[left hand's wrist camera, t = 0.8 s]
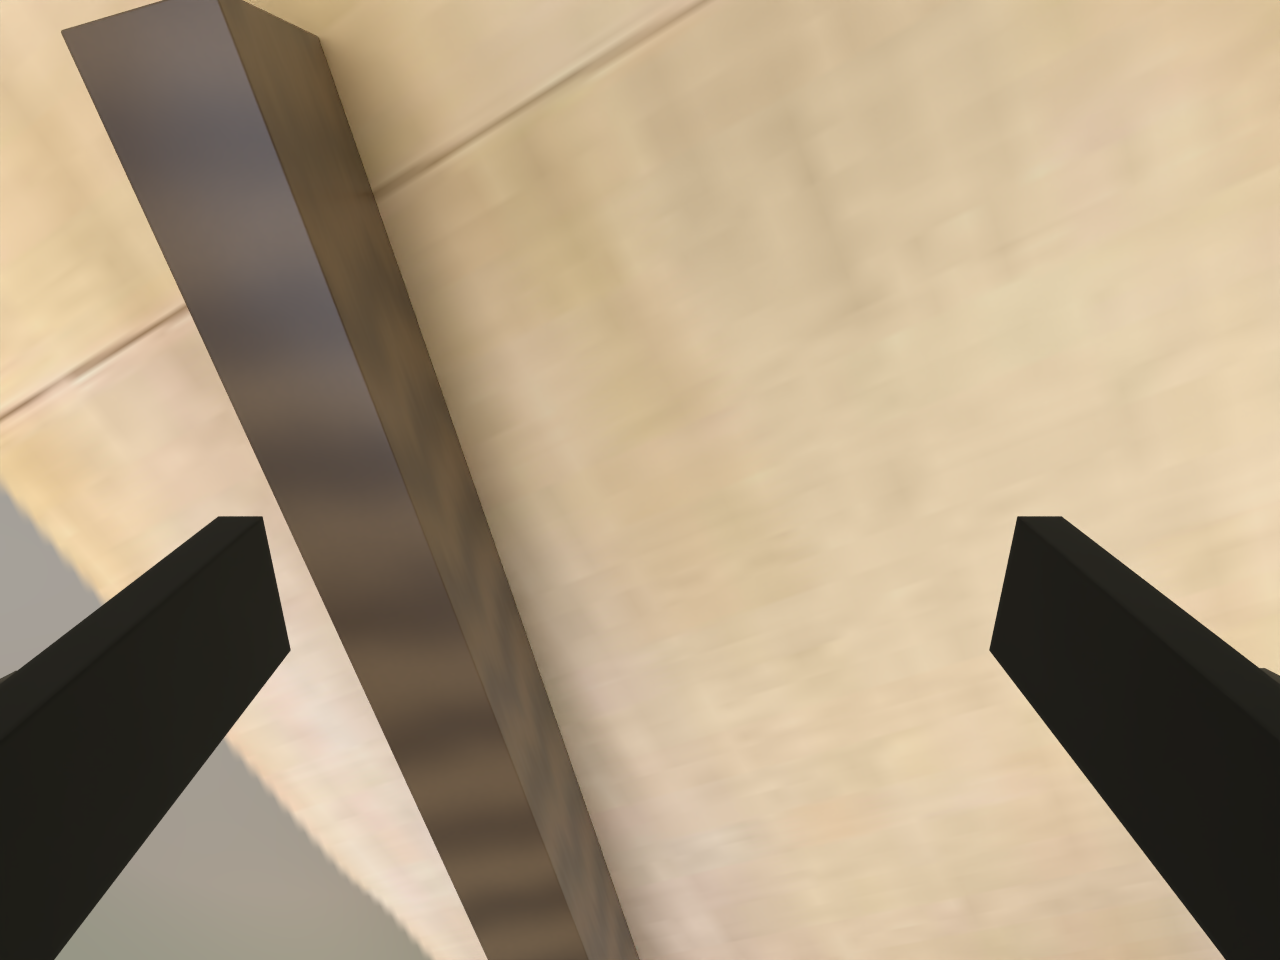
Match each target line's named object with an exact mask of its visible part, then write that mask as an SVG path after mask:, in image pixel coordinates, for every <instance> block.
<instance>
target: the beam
mask: <svg viewBox="0 0 1280 960" xmlns="http://www.w3.org/2000/svg"><path fill="white" fill-rule="evenodd" d="M61 33H62V35H63V38H64V40H65V42H66V44H67V46H68V49H69V51H70V53H71V55H72V57H73V59H74V62H75V64H76V66H77V68H78V70H79V72H80V75H81V77H82V79H83V81H84V83H85V85H86V88H87V90H88V92H89V94H90V96H91V98H92V101H93V103H94V105H95V107H96V109H97V112H98V114H99V116H100V118H101V120H102V122H103V125H104V127H105V129H106V131H107V133H108V135H109V138H110V140H111V142H112V144H113V146H114V148H115V151H116V153H117V155H118V157H119V159H120V161H121V164H122V166H123V168H124V170H125V172H126V175H127V177H128V179H129V181H130V183H131V185H132V188H133V190H134V192H135V194H136V196H137V198H138V201H139V203H140V205H141V207H142V209H143V211H144V214H145V216H146V218H147V220H148V222H149V224H150V227H151V229H152V231H153V233H154V235H155V237H156V240H157V242H158V244H159V246H160V248H161V251H162V253H163V255H164V257H165V259H166V261H167V264H168V266H169V268H170V270H171V272H172V274H173V277H174V279H175V281H176V283H177V285H178V287H179V290H180V292H181V294H182V296H183V298H184V300H185V303H186V305H187V307H188V309H189V311H190V314H191V316H192V318H193V320H194V322H195V324H196V327H197V329H198V331H199V333H200V335H201V337H202V340H203V342H204V344H205V346H206V348H207V350H208V353H209V355H210V357H211V359H212V361H213V363H214V366H215V368H216V370H217V372H218V374H219V377H220V379H221V381H222V383H223V385H224V387H225V390H226V392H227V394H228V396H229V398H230V400H231V403H232V405H233V407H234V409H235V411H236V413H237V416H238V418H239V420H240V422H241V424H242V426H243V429H244V431H245V433H246V435H247V437H248V439H249V442H250V444H251V446H252V448H253V450H254V453H255V455H256V457H257V459H258V461H259V463H260V466H261V468H262V470H263V472H264V474H265V476H266V479H267V481H268V483H269V485H270V487H271V489H272V492H273V494H274V496H275V498H276V500H277V502H278V505H279V507H280V509H281V511H282V513H283V516H284V518H285V520H286V522H287V524H288V526H289V529H290V531H291V533H292V535H293V537H294V539H295V542H296V544H297V546H298V548H299V550H300V552H301V555H302V557H303V559H304V561H305V563H306V565H307V568H308V570H309V572H310V574H311V576H312V578H313V581H314V583H315V585H316V587H317V589H318V592H319V594H320V596H321V598H322V600H323V602H324V605H325V607H326V609H327V611H328V613H329V615H330V618H331V620H332V622H333V624H334V626H335V628H336V631H337V633H338V635H339V637H340V639H341V641H342V644H343V646H344V648H345V650H346V652H347V655H348V657H349V659H350V661H351V663H352V665H353V668H354V670H355V672H356V674H357V676H358V678H359V681H360V683H361V685H362V687H363V689H364V691H365V694H366V696H367V698H368V700H369V702H370V704H371V707H372V709H373V711H374V713H375V715H376V718H377V720H378V722H379V724H380V726H381V728H382V731H383V733H384V735H385V737H386V739H387V741H388V744H389V746H390V748H391V750H392V752H393V754H394V757H395V759H396V761H397V763H398V765H399V767H400V770H401V772H402V774H403V776H404V778H405V780H406V783H407V785H408V787H409V789H410V791H411V794H412V796H413V798H414V800H415V802H416V804H417V807H418V809H419V811H420V813H421V815H422V817H423V820H424V822H425V824H426V826H427V828H428V830H429V833H430V835H431V837H432V839H433V841H434V843H435V846H436V848H437V850H438V852H439V854H440V857H441V859H442V861H443V863H444V865H445V867H446V870H447V872H448V874H449V876H450V878H451V880H452V883H453V885H454V887H455V889H456V891H457V893H458V896H459V898H460V900H461V902H462V904H463V906H464V909H465V911H466V913H467V915H468V917H469V920H470V922H471V924H472V926H473V928H474V930H475V933H476V935H477V937H478V939H479V941H480V943H481V946H482V948H483V950H484V952H485V954H486V956H487V959H488V960H639V958H638V955H637V952H636V949H635V946H634V944H633V941H632V938H631V935H630V932H629V929H628V926H627V923H626V921H625V918H624V915H623V912H622V909H621V906H620V903H619V900H618V898H617V895H616V892H615V889H614V886H613V883H612V880H611V877H610V875H609V872H608V869H607V866H606V863H605V860H604V857H603V854H602V852H601V849H600V846H599V843H598V840H597V837H596V834H595V831H594V829H593V826H592V823H591V820H590V817H589V814H588V811H587V808H586V806H585V803H584V800H583V797H582V794H581V791H580V788H579V786H578V783H577V780H576V777H575V774H574V771H573V768H572V765H571V763H570V760H569V757H568V754H567V751H566V748H565V745H564V742H563V740H562V737H561V734H560V731H559V728H558V725H557V722H556V719H555V717H554V714H553V711H552V708H551V705H550V702H549V699H548V696H547V694H546V691H545V688H544V685H543V682H542V679H541V676H540V673H539V671H538V668H537V665H536V662H535V659H534V656H533V653H532V650H531V648H530V645H529V642H528V639H527V636H526V633H525V630H524V627H523V625H522V622H521V619H520V616H519V613H518V610H517V607H516V604H515V602H514V599H513V596H512V593H511V590H510V587H509V584H508V581H507V579H506V576H505V573H504V570H503V567H502V564H501V561H500V558H499V556H498V553H497V550H496V547H495V544H494V541H493V538H492V535H491V533H490V530H489V527H488V524H487V521H486V518H485V515H484V513H483V510H482V507H481V504H480V501H479V498H478V495H477V492H476V490H475V487H474V484H473V481H472V478H471V475H470V472H469V469H468V467H467V464H466V461H465V458H464V455H463V452H462V449H461V446H460V444H459V441H458V438H457V435H456V432H455V429H454V426H453V423H452V421H451V418H450V415H449V412H448V409H447V406H446V403H445V400H444V398H443V395H442V392H441V389H440V386H439V383H438V380H437V377H436V375H435V372H434V369H433V366H432V363H431V360H430V357H429V354H428V352H427V349H426V346H425V343H424V340H423V337H422V334H421V331H420V329H419V326H418V323H417V320H416V317H415V314H414V311H413V308H412V306H411V303H410V300H409V297H408V294H407V291H406V288H405V285H404V283H403V280H402V277H401V274H400V271H399V268H398V265H397V262H396V260H395V257H394V254H393V251H392V248H391V245H390V242H389V240H388V237H387V234H386V231H385V228H384V225H383V222H382V219H381V217H380V214H379V211H378V208H377V205H376V202H375V199H374V196H373V194H372V191H371V188H370V185H369V182H368V179H367V176H366V173H365V171H364V168H363V165H362V162H361V159H360V156H359V153H358V150H357V148H356V145H355V142H354V139H353V136H352V133H351V130H350V127H349V125H348V122H347V119H346V116H345V113H344V110H343V107H342V104H341V102H340V99H339V96H338V93H337V90H336V87H335V84H334V81H333V79H332V76H331V73H330V70H329V67H328V64H327V61H326V58H325V56H324V53H323V50H322V47H321V44H320V41H319V38H318V37H317V36H316V35H313V34H311V33H309V32H307V31H305V30H303V29H301V28H299V27H297V26H295V25H293V24H291V23H289V22H287V21H284V20H282V19H280V18H278V17H276V16H274V15H272V14H270V13H268V12H266V11H264V10H262V9H260V8H258V7H255V6H253V5H251V4H249V3H247V2H245V1H243V0H162V1H159V2H156V3H152V4H149V5H145V6H142V7H139V8H135V9H132V10H129V11H125V12H122V13H118V14H115V15H112V16H108V17H105V18H102V19H98V20H95V21H91V22H88V23H85V24H81V25H78V26H75V27H71V28H68V29H65V30H62V31H61Z"/></svg>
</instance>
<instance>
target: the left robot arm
mask: <svg viewBox="0 0 1280 960" xmlns="http://www.w3.org/2000/svg"><path fill="white" fill-rule="evenodd" d="M290 650H291V649H290V645H289V640H288V635H287V630H286V626H285V621H284V616H283V611H282V607H281V602H280V597H279V592H278V588H277V583H276V578H275V574H274V569H273V564H272V559H271V555H270V550H269V545H268V540H267V536H266V531H265V526H264V521H263V517H262V516H218V517H217V518H216V519H215V520H213V521H212V522H211V523H209V524H208V525H207V526H205V527H204V528H203V529H201V530H200V531H199V532H198V533H196V534H195V535H194V536H192V537H191V538H190V539H188V540H187V541H186V542H185V543H183V544H182V545H181V546H179V547H178V548H177V549H175V550H174V551H173V552H172V553H170V554H169V555H168V556H166V557H165V558H164V559H162V560H161V561H160V562H158V563H157V564H156V565H155V566H153V567H152V568H151V569H149V570H148V571H147V572H145V573H144V574H143V575H142V576H140V577H139V578H138V579H136V580H135V581H134V582H132V583H131V584H130V585H128V586H127V587H126V588H125V589H123V590H122V591H121V592H119V593H118V594H117V595H115V596H114V597H113V598H112V599H110V600H109V601H108V602H106V603H105V604H104V605H102V606H101V607H100V608H99V609H97V610H96V611H95V612H93V613H92V614H91V615H89V616H88V617H87V618H86V619H84V620H83V621H82V622H80V623H79V624H78V625H76V626H75V627H74V628H73V629H71V630H70V631H69V632H67V633H66V634H65V635H63V636H62V637H61V638H60V639H58V640H57V641H56V642H54V643H53V644H52V645H50V646H49V647H48V648H46V649H45V650H44V651H43V652H41V653H40V654H39V655H37V656H36V657H35V658H33V659H32V660H31V661H29V662H28V663H27V664H26V665H24V666H23V667H22V668H20V669H19V670H18V671H15V672H13V673H11V674H9V675H7V676H5V677H3V678H1V679H0V960H54V959H55V958H56V957H57V955H58V954H59V953H60V951H61V950H62V949H63V947H64V946H65V945H66V944H67V942H68V941H69V940H70V938H71V937H72V936H73V934H74V933H75V932H76V930H77V929H78V928H79V927H80V925H81V924H82V923H83V921H84V920H85V919H86V917H87V916H88V915H89V913H90V912H91V911H92V909H93V908H94V907H95V906H96V904H97V903H98V902H99V900H100V899H101V898H102V896H103V895H104V894H105V893H106V891H107V890H108V889H109V887H110V886H111V885H112V883H113V882H114V881H115V879H116V878H117V877H118V876H119V874H120V873H121V872H122V870H123V869H124V868H125V866H126V865H127V864H128V862H129V861H130V860H131V859H132V857H133V856H134V855H135V853H136V852H137V851H138V849H139V848H140V847H141V845H142V844H143V843H144V842H145V840H146V839H147V838H148V836H149V835H150V834H151V832H152V831H153V830H154V828H155V827H156V826H157V824H158V823H159V822H160V821H161V819H162V818H163V817H164V815H165V814H166V813H167V811H168V810H169V809H170V807H171V806H172V805H173V804H174V802H175V801H176V800H177V798H178V797H179V796H180V794H181V793H182V792H183V790H184V789H185V788H186V787H187V785H188V784H189V783H190V781H191V780H192V779H193V777H194V776H195V775H196V773H197V772H198V771H199V770H200V768H201V767H202V765H203V764H204V763H205V762H206V760H207V759H208V758H209V756H210V755H211V754H212V753H213V751H214V750H215V748H216V747H217V746H218V745H219V743H220V742H221V741H222V739H223V738H224V737H225V735H226V734H227V733H228V732H229V730H230V729H231V728H232V726H233V725H234V724H235V722H236V721H237V720H238V718H239V717H240V716H241V715H242V713H243V712H244V711H245V709H246V708H247V707H248V705H249V704H250V703H251V701H252V700H253V699H254V698H255V696H256V695H257V694H258V692H259V691H260V690H261V688H262V687H263V686H264V684H265V683H266V682H267V681H268V679H269V678H270V677H271V675H272V674H273V673H274V671H275V670H276V669H277V667H278V666H279V665H280V664H281V662H282V661H283V660H284V658H285V657H286V656H287V654H288V653H289V652H290ZM989 650H990V652H991V653H992V654H993V656H994V657H995V658H996V660H997V661H998V662H999V664H1000V665H1001V666H1002V667H1003V669H1004V670H1005V671H1006V673H1007V674H1008V675H1009V677H1010V678H1011V679H1012V681H1013V682H1014V683H1015V684H1016V686H1017V687H1018V688H1019V690H1020V691H1021V692H1022V694H1023V695H1024V696H1025V698H1026V699H1027V700H1028V701H1029V703H1030V704H1031V705H1032V707H1033V708H1034V709H1035V711H1036V712H1037V713H1038V715H1039V716H1040V717H1041V718H1042V720H1043V721H1044V722H1045V724H1046V725H1047V726H1048V728H1049V729H1050V730H1051V732H1052V733H1053V734H1054V735H1055V737H1056V738H1057V739H1058V741H1059V742H1060V743H1061V745H1062V746H1063V747H1064V749H1065V750H1066V751H1067V753H1068V754H1069V755H1070V756H1071V758H1072V759H1073V760H1074V762H1075V763H1076V764H1077V766H1078V767H1079V768H1080V770H1081V771H1082V772H1083V773H1084V775H1085V776H1086V777H1087V779H1088V780H1089V781H1090V783H1091V784H1092V785H1093V787H1094V788H1095V789H1096V790H1097V792H1098V793H1099V794H1100V796H1101V797H1102V798H1103V800H1104V801H1105V802H1106V804H1107V805H1108V806H1109V807H1110V809H1111V810H1112V811H1113V813H1114V814H1115V815H1116V817H1117V818H1118V819H1119V821H1120V822H1121V823H1122V824H1123V826H1124V827H1125V828H1126V830H1127V831H1128V832H1129V834H1130V835H1131V836H1132V838H1133V839H1134V840H1135V842H1136V843H1137V844H1138V845H1139V847H1140V848H1141V849H1142V851H1143V852H1144V853H1145V855H1146V856H1147V857H1148V859H1149V860H1150V861H1151V862H1152V864H1153V865H1154V866H1155V868H1156V869H1157V870H1158V872H1159V873H1160V874H1161V876H1162V877H1163V878H1164V879H1165V881H1166V882H1167V883H1168V885H1169V886H1170V887H1171V889H1172V890H1173V891H1174V893H1175V894H1176V895H1177V896H1178V898H1179V899H1180V900H1181V902H1182V903H1183V904H1184V906H1185V907H1186V908H1187V910H1188V911H1189V912H1190V913H1191V915H1192V916H1193V917H1194V919H1195V920H1196V921H1197V923H1198V924H1199V925H1200V927H1201V928H1202V929H1203V931H1204V932H1205V933H1206V934H1207V936H1208V937H1209V938H1210V940H1211V941H1212V942H1213V944H1214V945H1215V946H1216V948H1217V949H1218V950H1219V951H1220V953H1221V954H1222V955H1223V957H1224V958H1225V959H1226V960H1280V676H1279V675H1277V674H1275V673H1273V672H1271V671H1269V670H1267V669H1266V668H1258V667H1257V666H1256V665H1254V664H1253V663H1252V662H1251V661H1249V660H1248V659H1247V658H1245V657H1244V656H1243V655H1241V654H1240V653H1239V652H1238V651H1236V650H1235V649H1234V648H1232V647H1231V646H1230V645H1228V644H1227V643H1226V642H1224V641H1223V640H1222V639H1221V638H1219V637H1218V636H1217V635H1215V634H1214V633H1213V632H1211V631H1210V630H1209V629H1208V628H1206V627H1205V626H1204V625H1202V624H1201V623H1200V622H1198V621H1197V620H1196V619H1195V618H1193V617H1192V616H1191V615H1189V614H1188V613H1187V612H1185V611H1184V610H1183V609H1181V608H1180V607H1179V606H1178V605H1176V604H1175V603H1174V602H1172V601H1171V600H1170V599H1168V598H1167V597H1166V596H1165V595H1163V594H1162V593H1161V592H1159V591H1158V590H1157V589H1155V588H1154V587H1153V586H1152V585H1150V584H1149V583H1148V582H1146V581H1145V580H1144V579H1142V578H1141V577H1140V576H1138V575H1137V574H1136V573H1135V572H1133V571H1132V570H1131V569H1129V568H1128V567H1127V566H1125V565H1124V564H1123V563H1122V562H1120V561H1119V560H1118V559H1116V558H1115V557H1114V556H1112V555H1111V554H1110V553H1108V552H1107V551H1106V550H1105V549H1103V548H1102V547H1101V546H1099V545H1098V544H1097V543H1095V542H1094V541H1093V540H1092V539H1090V538H1089V537H1088V536H1086V535H1085V534H1084V533H1082V532H1081V531H1080V530H1079V529H1077V528H1076V527H1075V526H1073V525H1072V524H1071V523H1069V522H1068V521H1067V520H1065V519H1064V518H1063V517H1062V516H1018V517H1017V521H1016V526H1015V531H1014V536H1013V540H1012V545H1011V550H1010V555H1009V559H1008V564H1007V569H1006V573H1005V578H1004V583H1003V588H1002V592H1001V597H1000V602H999V607H998V611H997V616H996V621H995V626H994V630H993V635H992V640H991V645H990V649H989Z"/></svg>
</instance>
